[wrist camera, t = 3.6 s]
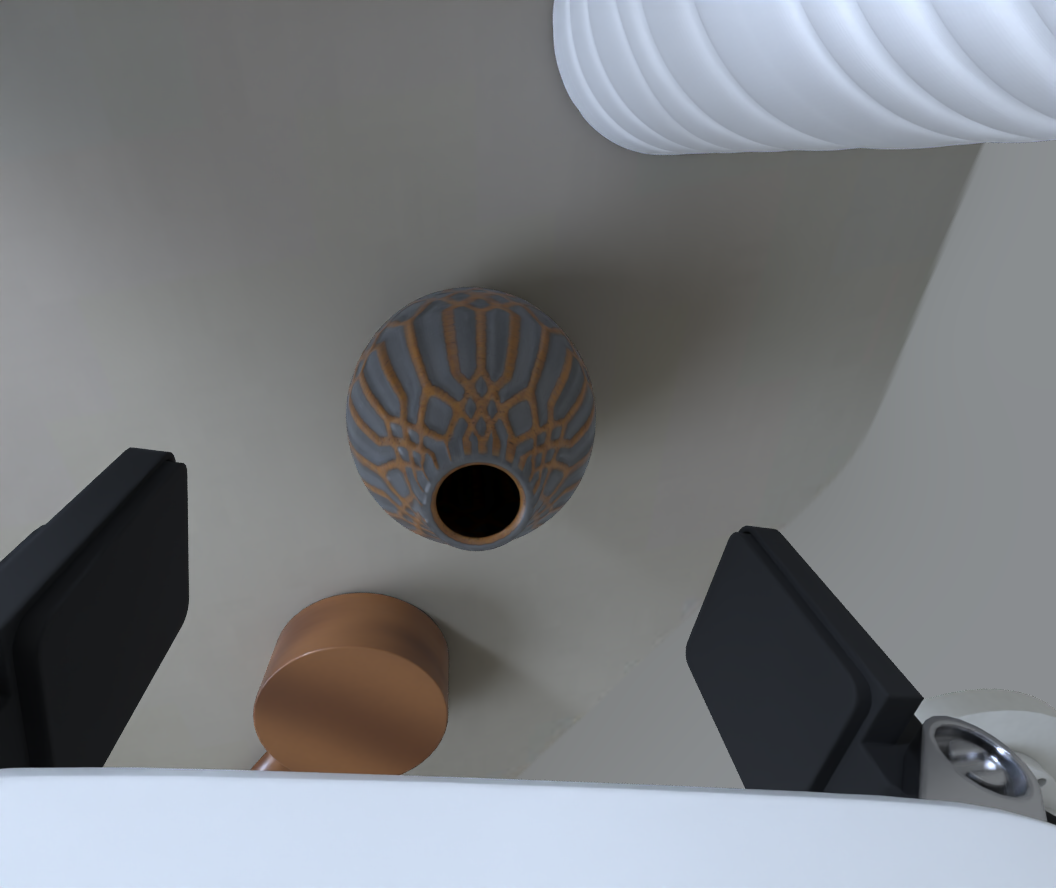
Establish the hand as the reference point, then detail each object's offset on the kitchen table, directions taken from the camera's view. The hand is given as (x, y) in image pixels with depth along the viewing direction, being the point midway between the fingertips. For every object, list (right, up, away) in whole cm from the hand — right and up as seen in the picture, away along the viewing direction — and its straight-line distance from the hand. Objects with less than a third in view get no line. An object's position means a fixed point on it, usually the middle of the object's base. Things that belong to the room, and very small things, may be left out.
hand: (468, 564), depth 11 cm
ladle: (-11, -13, +17) cm, 24 cm away
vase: (-1, +4, +10) cm, 11 cm away
